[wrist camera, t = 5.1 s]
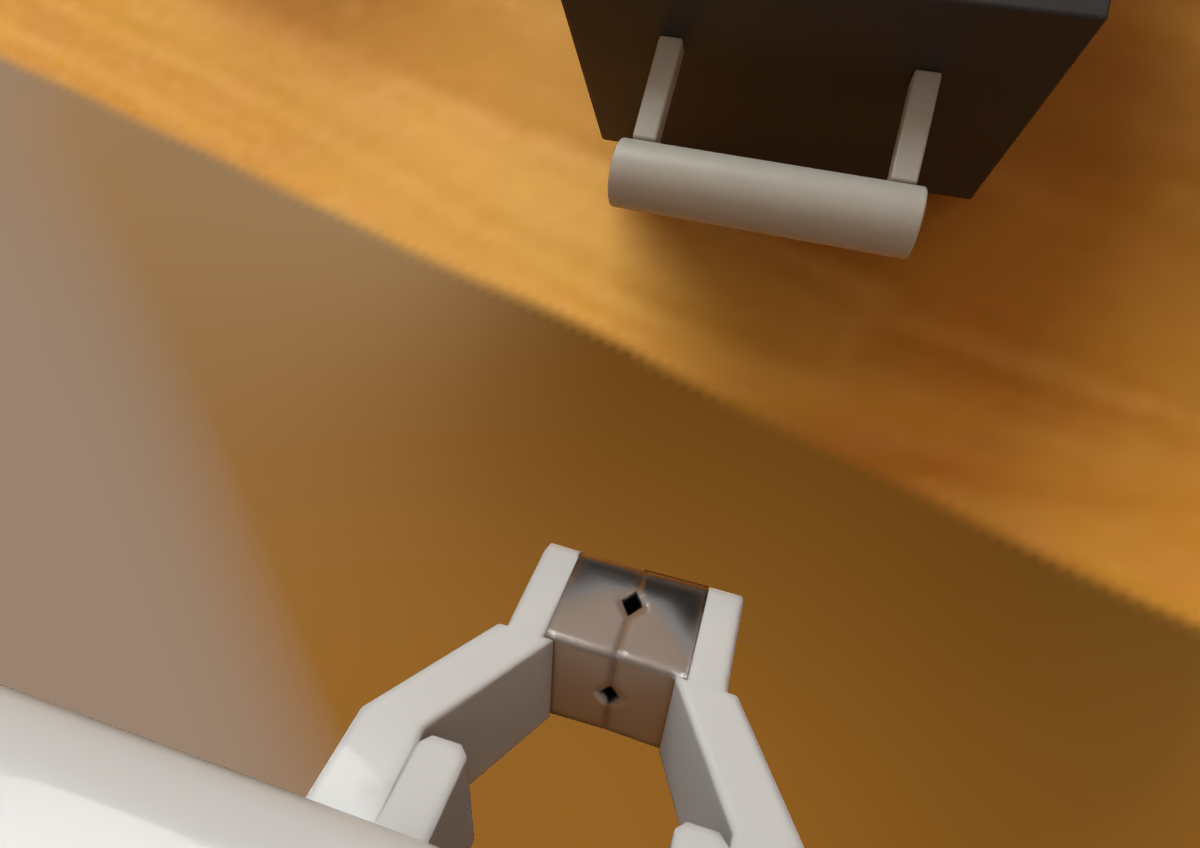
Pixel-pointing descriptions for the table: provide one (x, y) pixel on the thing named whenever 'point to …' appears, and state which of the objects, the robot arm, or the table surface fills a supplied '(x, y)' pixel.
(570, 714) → the robot arm
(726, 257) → the table surface
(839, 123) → the dark drawer with handle
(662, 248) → the table surface
